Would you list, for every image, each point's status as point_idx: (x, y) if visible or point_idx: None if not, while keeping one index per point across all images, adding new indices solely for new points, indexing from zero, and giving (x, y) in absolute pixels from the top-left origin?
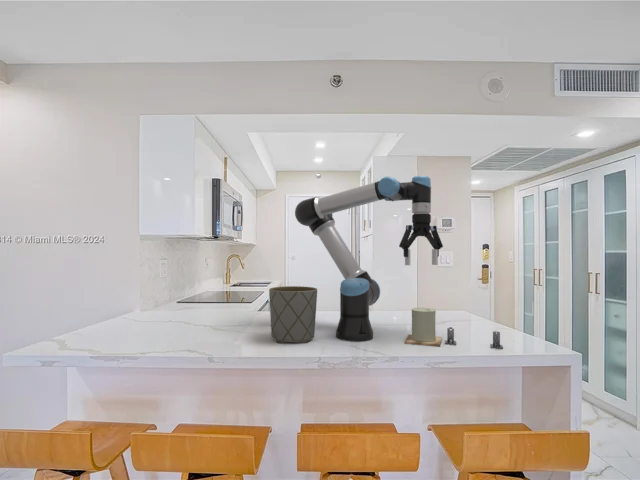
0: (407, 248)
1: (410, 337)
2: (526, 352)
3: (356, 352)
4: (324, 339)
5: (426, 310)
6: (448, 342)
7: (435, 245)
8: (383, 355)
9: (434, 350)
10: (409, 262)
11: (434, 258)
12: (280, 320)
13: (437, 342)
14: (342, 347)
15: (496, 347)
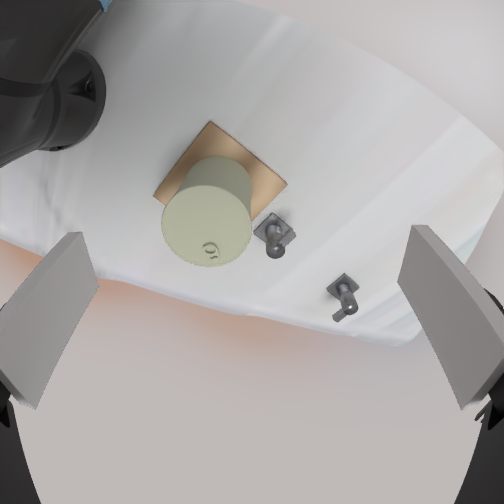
0: (4, 404)
1: (191, 161)
2: (357, 322)
3: (43, 228)
4: None
5: (207, 244)
6: (263, 235)
7: (474, 453)
8: None
9: None
10: (81, 302)
11: (429, 303)
12: None
13: None
14: (25, 188)
15: (333, 295)
